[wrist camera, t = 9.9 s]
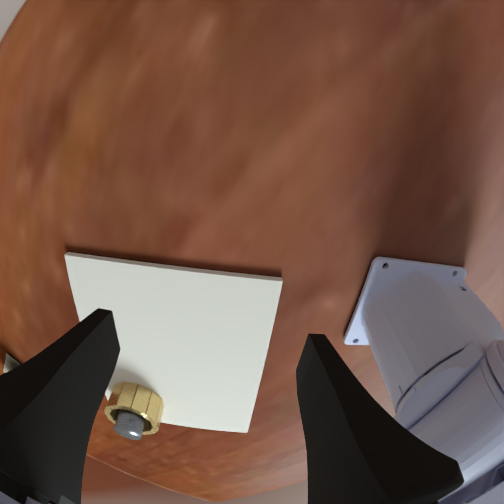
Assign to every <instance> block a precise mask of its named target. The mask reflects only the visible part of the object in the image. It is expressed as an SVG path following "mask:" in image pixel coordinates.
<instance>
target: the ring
mask: <svg viewBox="0 0 504 504" xmlns="http://www.w3.org/2000/svg"><path fill="white" fill-rule="evenodd" d="M120 409H124V410H129V411H132V412H135V413H137V414H139V415H142V416H143V417H145V418H146V421H145V424H144V428H143V432H142V434H143V435H144V434H145V435H147V434H154V433H156V432H157V431H158V430H159V427H160V422H161V418H162V414H163V409H164V403H163V400H162V398H161V397H160V396H159V395H157V394H156V393H155V392H154V391H153V390H151V389H149V388H147V387H144V386H142V385H140V384H139V385H138V384H137V383H131V382H120V383H116V384H115V385H114V387H113V389H112V392H111V395H110V397H109V400H108V403H107V405H106V408H105V411H104V412H105V414H106V416H107V417H108V419H109V420H110V421H112V422H113V423H114V424H115V423H116V420H117V417H118V413H119V410H120Z"/></svg>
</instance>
